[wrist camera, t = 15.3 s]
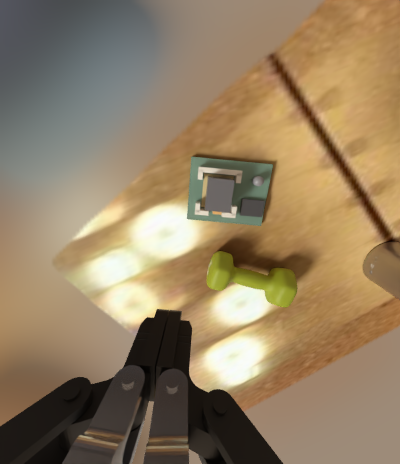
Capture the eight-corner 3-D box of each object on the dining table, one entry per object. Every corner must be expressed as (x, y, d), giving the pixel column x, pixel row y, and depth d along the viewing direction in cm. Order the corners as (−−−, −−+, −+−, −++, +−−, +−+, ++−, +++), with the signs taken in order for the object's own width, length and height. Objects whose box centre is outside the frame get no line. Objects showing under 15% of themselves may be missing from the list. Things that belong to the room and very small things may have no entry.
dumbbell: (290, 263, 41) (307, 283, 34) (274, 294, 43) (287, 318, 36) (214, 241, 39) (217, 257, 33) (203, 275, 42) (203, 296, 35)
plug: (230, 178, 34) (234, 180, 29) (226, 209, 36) (229, 215, 31) (207, 176, 34) (208, 177, 29) (204, 207, 36) (204, 213, 31)
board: (271, 164, 34) (277, 164, 32) (259, 224, 38) (264, 229, 35) (191, 156, 34) (190, 156, 31) (187, 217, 38) (186, 221, 35)
